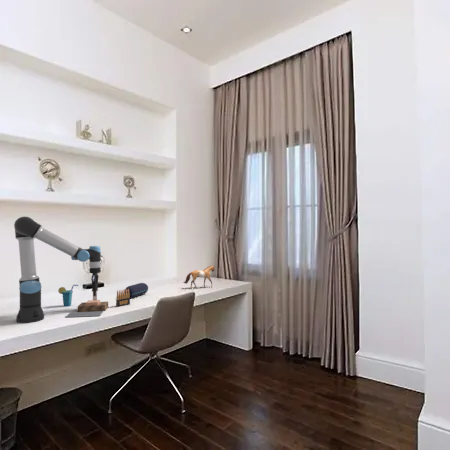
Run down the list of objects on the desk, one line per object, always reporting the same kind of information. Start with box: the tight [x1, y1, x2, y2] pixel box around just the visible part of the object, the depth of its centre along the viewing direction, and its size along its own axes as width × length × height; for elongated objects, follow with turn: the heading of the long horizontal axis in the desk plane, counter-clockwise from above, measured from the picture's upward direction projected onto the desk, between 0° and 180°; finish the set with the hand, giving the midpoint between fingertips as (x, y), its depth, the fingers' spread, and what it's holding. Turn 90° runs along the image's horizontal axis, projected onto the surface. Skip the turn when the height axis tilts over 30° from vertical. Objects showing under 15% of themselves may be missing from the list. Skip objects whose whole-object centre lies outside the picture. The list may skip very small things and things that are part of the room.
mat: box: [64, 311, 104, 319], centre depth 224 cm, size 21×12×1 cm, turn 99°
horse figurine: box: [183, 265, 215, 289], centre depth 323 cm, size 31×8×21 cm, turn 109°
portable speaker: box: [124, 282, 149, 299], centre depth 285 cm, size 25×10×10 cm, turn 161°
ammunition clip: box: [115, 288, 131, 308], centre depth 250 cm, size 11×2×12 cm, turn 140°
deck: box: [77, 301, 109, 312], centre depth 238 cm, size 18×12×4 cm, turn 99°
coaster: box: [86, 299, 101, 306], centre depth 237 cm, size 8×8×2 cm
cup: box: [58, 284, 79, 307], centre depth 251 cm, size 14×8×15 cm, turn 134°
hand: (94, 300), depth 244 cm, fingers closed
